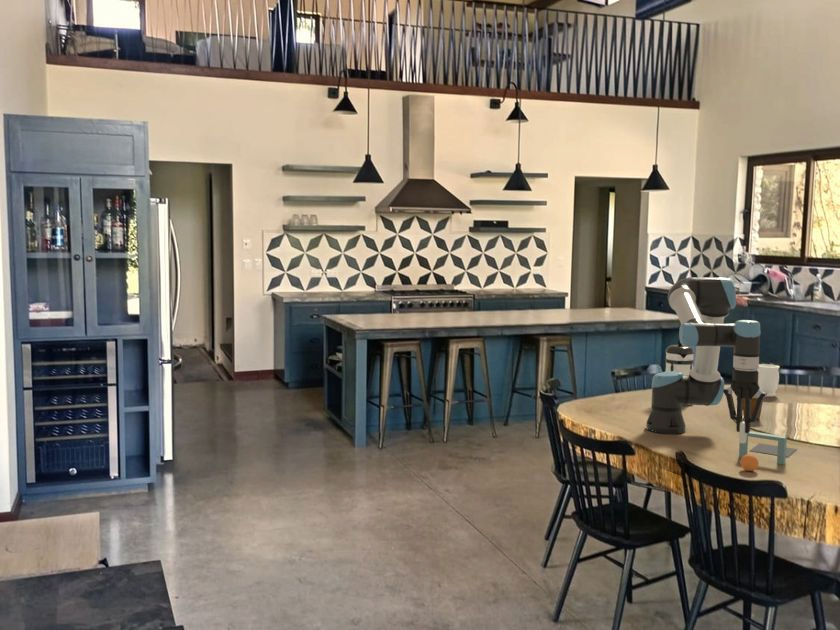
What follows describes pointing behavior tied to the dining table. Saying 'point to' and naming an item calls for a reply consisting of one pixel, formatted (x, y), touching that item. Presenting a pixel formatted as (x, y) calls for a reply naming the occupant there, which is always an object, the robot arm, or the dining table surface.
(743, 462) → the ball
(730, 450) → the dining table surface
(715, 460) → the dining table surface
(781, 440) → the bridge
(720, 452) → the dining table surface
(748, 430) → the robot arm
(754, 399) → the disposable coffee cup
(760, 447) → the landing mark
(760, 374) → the jar
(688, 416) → the dining table surface
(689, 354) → the coffee press
